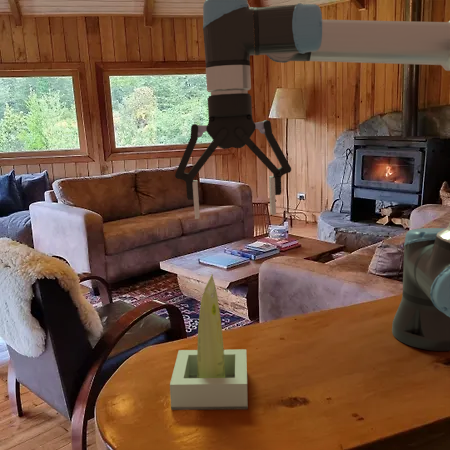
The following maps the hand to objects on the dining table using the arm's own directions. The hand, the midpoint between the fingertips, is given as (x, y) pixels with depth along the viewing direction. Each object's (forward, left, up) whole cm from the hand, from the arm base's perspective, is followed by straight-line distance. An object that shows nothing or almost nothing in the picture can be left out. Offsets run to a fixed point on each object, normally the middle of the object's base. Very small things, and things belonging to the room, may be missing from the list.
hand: (235, 215), depth 94 cm
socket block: (+5, +9, -29) cm, 31 cm away
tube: (+5, +9, -29) cm, 31 cm away
